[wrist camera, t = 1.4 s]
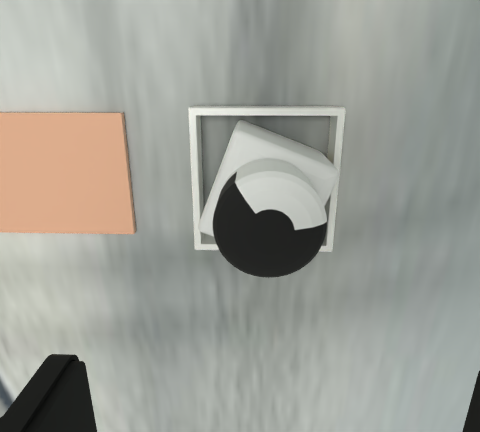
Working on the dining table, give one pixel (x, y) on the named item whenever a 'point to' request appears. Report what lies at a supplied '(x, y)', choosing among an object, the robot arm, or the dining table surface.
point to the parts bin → (195, 113)
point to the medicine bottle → (269, 202)
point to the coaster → (65, 173)
